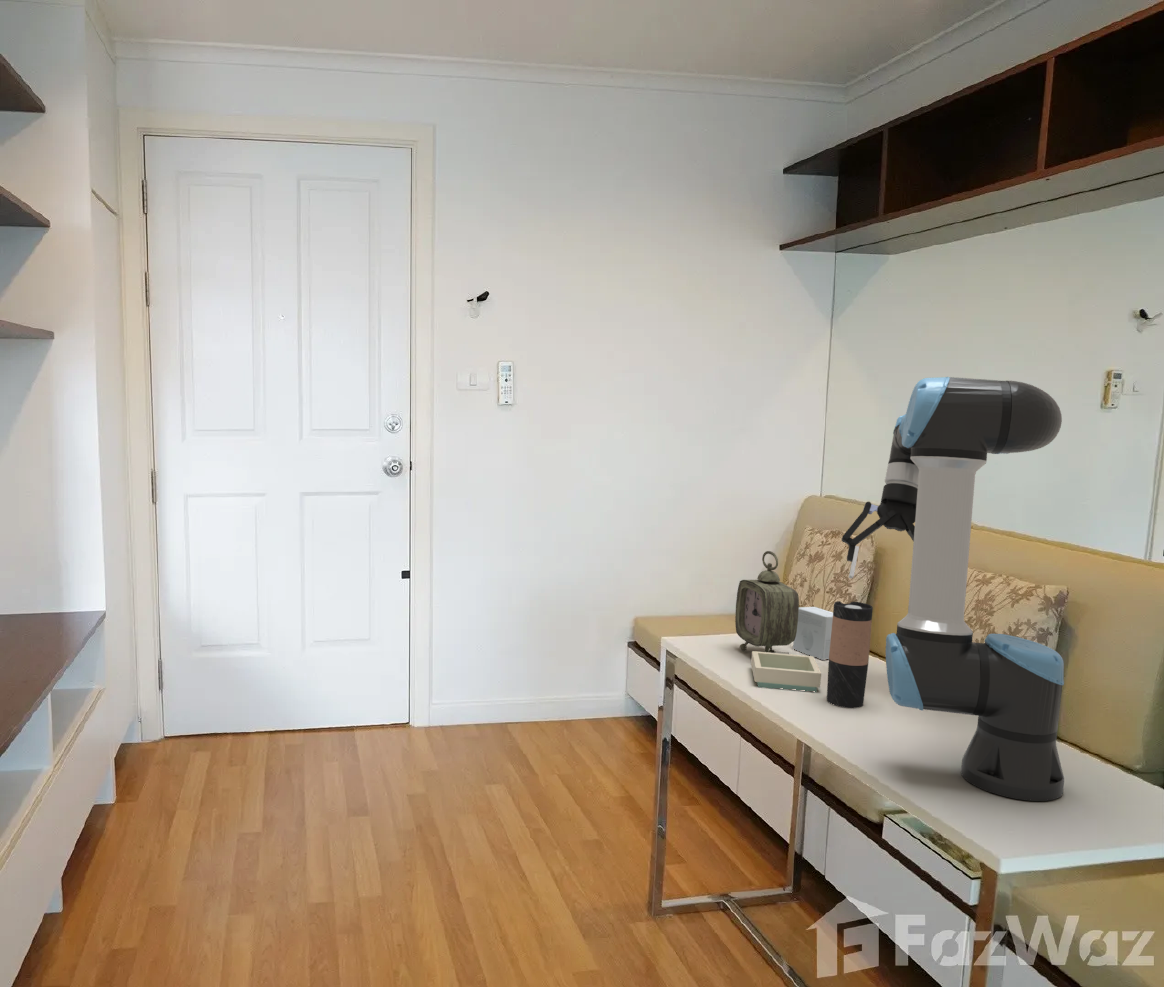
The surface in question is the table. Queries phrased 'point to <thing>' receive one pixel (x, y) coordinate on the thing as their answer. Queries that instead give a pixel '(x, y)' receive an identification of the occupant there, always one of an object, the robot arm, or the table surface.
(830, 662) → the travel mug
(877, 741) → the table surface
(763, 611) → the tabletop clock
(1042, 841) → the table surface
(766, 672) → the rectangular tray
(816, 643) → the skincare box
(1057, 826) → the table surface
